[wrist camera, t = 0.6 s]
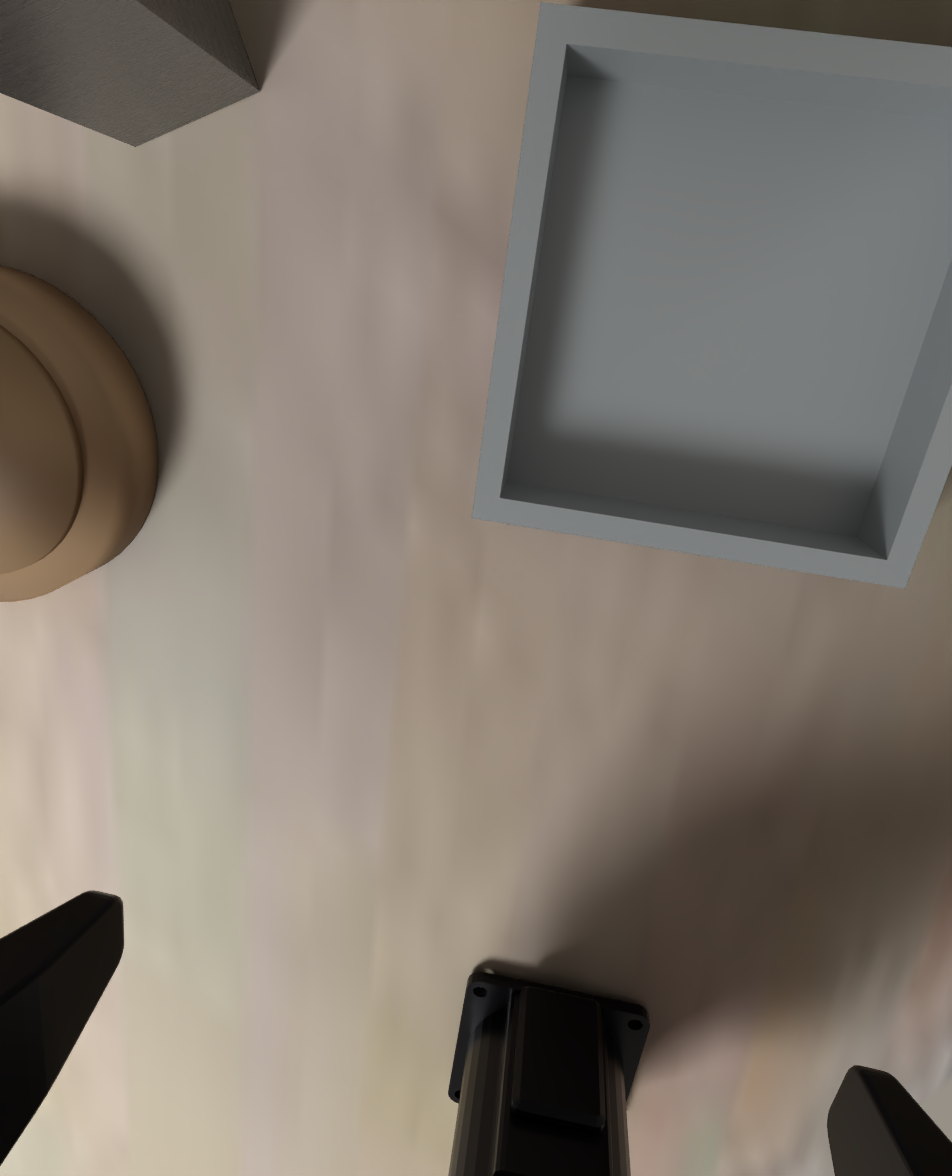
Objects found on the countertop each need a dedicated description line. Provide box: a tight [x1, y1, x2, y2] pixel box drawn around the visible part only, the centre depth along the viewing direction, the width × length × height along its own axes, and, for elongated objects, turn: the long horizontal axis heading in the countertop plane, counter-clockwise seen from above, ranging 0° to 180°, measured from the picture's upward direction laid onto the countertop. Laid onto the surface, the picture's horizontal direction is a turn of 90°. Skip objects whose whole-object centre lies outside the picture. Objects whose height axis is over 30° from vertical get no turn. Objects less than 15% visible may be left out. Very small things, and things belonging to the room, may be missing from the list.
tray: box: [472, 2, 952, 589], centre depth 16 cm, size 10×10×2 cm
